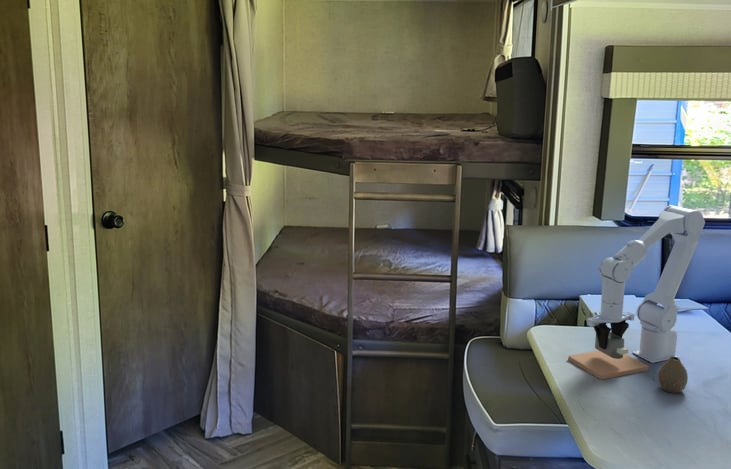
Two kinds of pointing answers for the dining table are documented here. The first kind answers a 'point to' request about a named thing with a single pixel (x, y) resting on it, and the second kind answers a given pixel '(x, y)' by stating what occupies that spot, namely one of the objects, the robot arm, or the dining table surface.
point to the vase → (672, 375)
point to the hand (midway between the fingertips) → (608, 346)
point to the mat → (607, 364)
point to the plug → (613, 346)
